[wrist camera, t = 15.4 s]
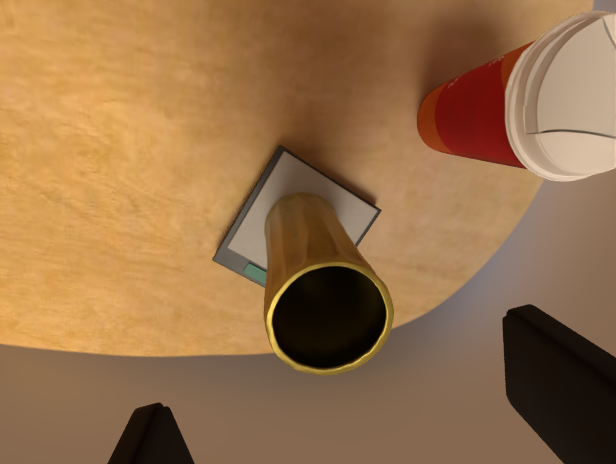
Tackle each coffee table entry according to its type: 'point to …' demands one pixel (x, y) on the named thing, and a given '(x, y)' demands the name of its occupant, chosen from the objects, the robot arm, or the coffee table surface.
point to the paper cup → (535, 104)
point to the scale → (270, 189)
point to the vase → (320, 290)
